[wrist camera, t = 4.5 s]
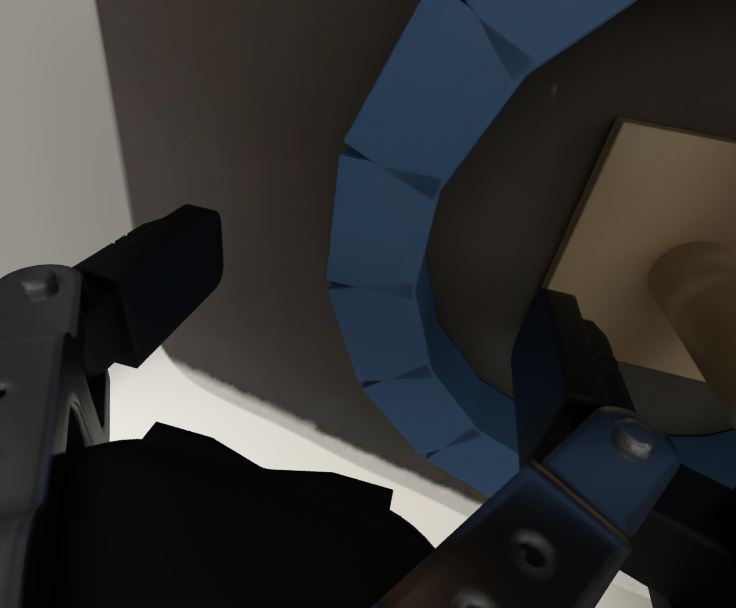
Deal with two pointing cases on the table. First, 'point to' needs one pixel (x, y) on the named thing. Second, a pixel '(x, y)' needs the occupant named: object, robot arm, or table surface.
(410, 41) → the hoop
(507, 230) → the table surface
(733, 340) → the dowel stand
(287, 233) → the table surface
